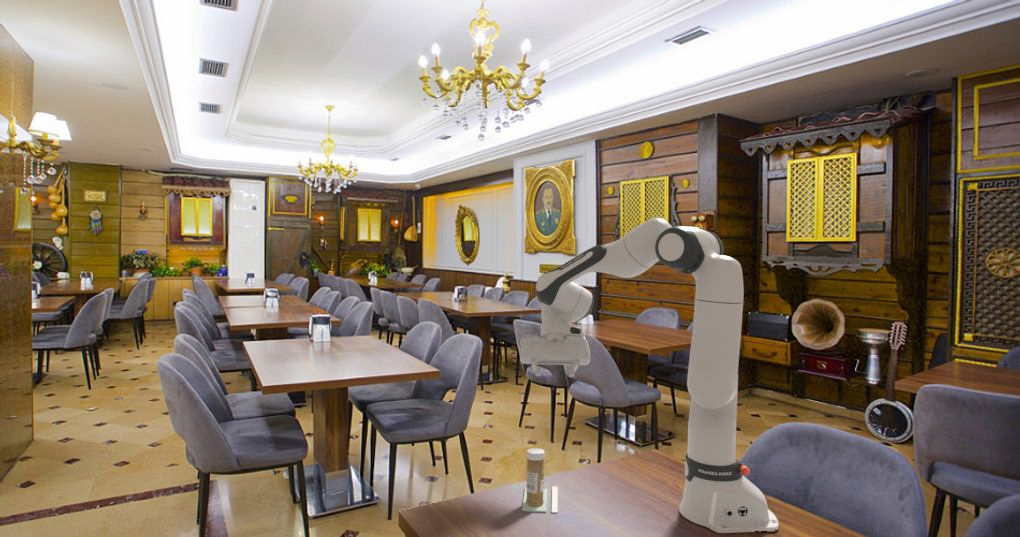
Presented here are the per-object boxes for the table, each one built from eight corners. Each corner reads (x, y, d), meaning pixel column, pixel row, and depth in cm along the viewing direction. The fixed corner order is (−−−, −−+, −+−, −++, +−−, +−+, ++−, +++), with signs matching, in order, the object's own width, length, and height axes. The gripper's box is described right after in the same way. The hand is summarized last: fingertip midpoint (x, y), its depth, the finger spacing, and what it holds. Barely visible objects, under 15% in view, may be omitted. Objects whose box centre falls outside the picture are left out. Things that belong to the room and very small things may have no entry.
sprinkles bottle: (547, 504, 139) (548, 451, 139) (532, 508, 137) (533, 454, 136) (536, 497, 143) (537, 445, 143) (522, 501, 141) (523, 449, 140)
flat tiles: (557, 487, 150) (557, 486, 150) (557, 513, 135) (557, 511, 135) (525, 485, 151) (525, 484, 151) (522, 511, 136) (522, 509, 136)
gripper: (519, 328, 163) (517, 368, 154) (589, 330, 162) (591, 370, 152) (520, 341, 168) (518, 380, 158) (588, 342, 166) (590, 382, 157)
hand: (554, 375), depth 155 cm, fingers open, 8 cm apart
